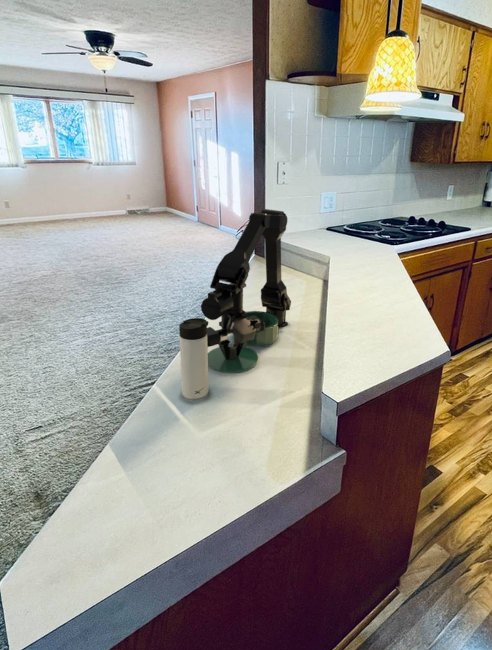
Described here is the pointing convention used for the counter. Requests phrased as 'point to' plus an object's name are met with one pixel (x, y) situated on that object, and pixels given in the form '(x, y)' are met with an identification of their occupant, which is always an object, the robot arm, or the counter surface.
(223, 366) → the lid
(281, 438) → the counter surface
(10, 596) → the counter surface
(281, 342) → the counter surface
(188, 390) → the travel mug
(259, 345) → the pot
